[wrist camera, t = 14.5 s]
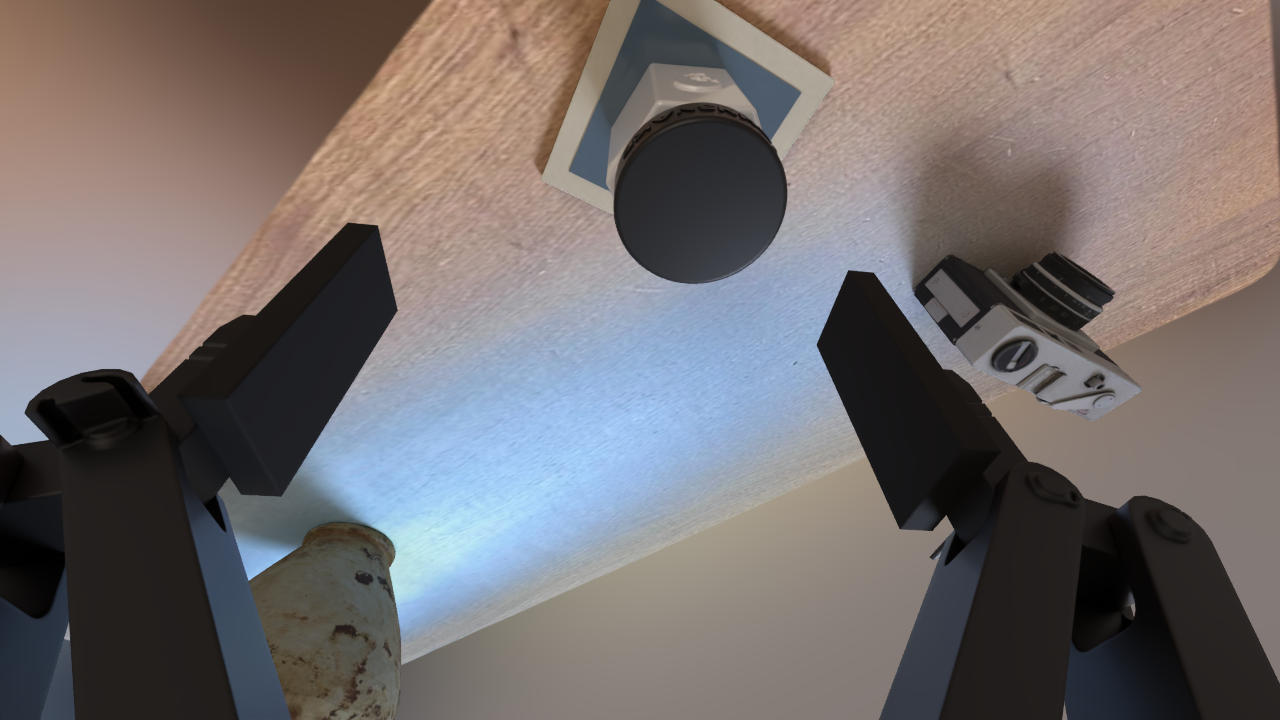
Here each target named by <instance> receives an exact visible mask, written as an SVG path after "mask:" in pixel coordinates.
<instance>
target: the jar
mask: <svg viewBox="0 0 1280 720" xmlns="http://www.w3.org/2000/svg"><path fill="white" fill-rule="evenodd" d="M771 144H772V142H771V141H770V139H769V138H768V136H767V135H766V134H765V132H764V131H763V130H762V128H761V124H760V121H759V118H758V115H757V111H756V109H755V108H754V106H753V105H752V104H751V102H750V101H749V100H748V98H747V97H746V96H745V94H744V93H743V92H742V90H741V89H740V88H739V86H738V85H737V84H736V82H735V81H734V80H733V78H732V77H731V76H730V74H729V73H728V72H727V70H725V69H719V68H707V67H694V66H682V65H670V64H658V63H652V64H650V65H649V67H648V68H647V70H646V72H645V73H644V75H643V77H642V78H641V80H640V82H639V83H638V85H637V87H636V88H635V90H634V92H633V93H632V95H631V96H630V98H629V100H628V101H627V103H626V105H625V106H624V108H623V110H622V111H621V113H620V115H619V116H618V118H617V120H616V121H615V123H614V124H613V126H612V128H611V133H610V144H609V154H608V165H607V175H606V184H607V187H608V188H609V190H610V192H611V194H612V196H613V198H614V202H613V210H614V219H615V224H616V228H617V231H618V234H619V236H620V239H621V241H622V243H623V244H624V246H625V248H626V249H627V251H628V252H629V254H630V255H631V256H632V257H633V258H634V259H635V260H636V261H637V262H638V263H639V264H640V265H641V266H642V267H644V268H645V269H646V270H648V271H650V272H651V273H653V274H655V275H657V276H659V277H661V278H664V279H667V280H670V281H674V282H679V283H687V284H699V283H708V282H713V281H717V280H721V279H724V278H727V277H729V276H731V275H734V274H736V273H737V272H739V271H741V270H743V269H744V268H746V267H747V266H749V265H750V264H751V263H753V262H754V261H755V260H756V259H757V258H758V257H760V255H761V254H762V253H763V252H764V251H765V250H766V249H767V248H768V246H769V245H770V244H771V242H772V241H773V239H774V238H775V236H776V234H777V232H778V230H779V228H780V226H781V224H782V221H783V218H784V215H785V210H786V204H787V181H786V176H785V172H784V168H783V166H782V163H781V161H780V158H779V156H778V154H777V153H778V152H777V150H776V148H775V147H774V146H773V145H771Z"/></svg>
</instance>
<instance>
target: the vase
mask: <svg viewBox="0 0 1280 720" xmlns="http://www.w3.org/2000/svg"><path fill="white" fill-rule="evenodd" d="M395 552H396V551H395V548H394V545H393V544H392V543H391V541H390V540H389V539H388V538H387V537H385V536H383V535H382V534H380V533H379V532H377V531H375V530H373V529H370V528H367V527H364V526H360V525H356V524H351V523H328V524H324V525H319V526H317V527H315V528H313V529H312V530H311V531H309V532H308V533H307V535H306V536H305V538H304V540H303V544H302V546H301V547H299V548H298V549H296V550H294V551H293V552H291V553H290V554H288V555H287V556H285V557H284V558H282V559H281V560H279V561H278V562H276V563H275V564H273V565H272V566H270V567H269V568H267V569H266V570H264V571H263V572H261V573H260V574H258V575H257V576H255V577H254V578H252V579H251V580H249V585H250V588H251V591H252V594H253V598H254V601H255V604H256V607H257V610H258V614H259V617H260V620H261V623H262V626H263V630H264V633H265V636H266V639H267V643H268V646H269V649H270V652H271V655H272V659H273V662H274V665H275V668H276V672H277V675H278V678H279V681H280V684H281V688H282V691H283V694H284V697H285V700H286V704H287V707H288V710H289V713H290V717H291V720H395V717H396V715H397V711H398V707H399V703H400V673H401V637H400V627H399V621H398V614H397V608H396V602H395V597H394V592H393V587H392V582H391V577H390V572H389V567H390V566H391V564H392V563H393V561H394V559H395Z"/></svg>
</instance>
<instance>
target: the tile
mask: <svg viewBox="0 0 1280 720" xmlns="http://www.w3.org/2000/svg"><path fill="white" fill-rule="evenodd" d="M652 63H658V64H670V65H682V66H694V67H707V68H719V69H725V70H727V72H728V73H729V74H730V76H731V77H732V78H733V80H734V81H735V82H736V84H737V85H738V86H739V88H740V89H741V90H742V92H743V93H744V94H745V96H746V97H747V98H748V100H749V101H750V102H751V104H752V105H753V106H754V108H755V109H756V111H757V115H758V118H759V121H760V124H761V128H762V130H763V131H764V132H765V134H766V135H767V136H768V138H769V139H770V141H771V142H772V144H771V145H773V146H774V147H775V148H776V150H777V152H778V153H777V154H778V156H779V158H780V161H782V160H783V158H784V157H785V155H786V154H787V152H788V151H789V149H790V148H791V146H792V145H793V143H794V142H795V140H796V139H797V137H798V136H799V134H800V133H801V131H802V130H803V129H804V127H805V126H806V124H807V123H808V121H809V120H810V118H811V117H812V115H813V114H814V112H815V111H816V109H817V108H818V106H819V105H820V103H821V102H822V100H823V99H824V97H825V96H826V94H827V93H828V91H829V90H830V89H831V87H832V86H833V84H834V83H835V81H836V80H835V79H834V78H832V77H831V76H829V75H828V74H826V73H824V72H823V71H821V70H820V69H818V68H817V67H815V66H814V65H812V64H811V63H809V62H808V61H806V60H805V59H803V58H802V57H800V56H799V55H797V54H796V53H794V52H793V51H791V50H790V49H788V48H787V47H785V46H784V45H782V44H781V43H779V42H778V41H776V40H774V39H773V38H771V37H770V36H768V35H767V34H765V33H764V32H762V31H761V30H759V29H758V28H756V27H755V26H753V25H752V24H750V23H749V22H747V21H746V20H744V19H743V18H741V17H740V16H738V15H737V14H735V13H734V12H732V11H731V10H729V9H727V8H726V7H724V6H723V5H721V4H720V3H718V2H717V1H715V0H610V3H609V5H608V8H607V10H606V13H605V15H604V18H603V21H602V23H601V26H600V28H599V31H598V33H597V36H596V39H595V41H594V44H593V46H592V49H591V51H590V54H589V56H588V59H587V62H586V64H585V67H584V69H583V72H582V74H581V77H580V80H579V82H578V85H577V87H576V90H575V92H574V95H573V98H572V100H571V103H570V105H569V108H568V110H567V113H566V116H565V118H564V121H563V123H562V126H561V128H560V131H559V134H558V136H557V139H556V141H555V144H554V146H553V149H552V151H551V154H550V157H549V159H548V162H547V164H546V167H545V169H544V172H543V175H542V177H541V181H543V182H545V183H547V184H549V185H551V186H553V187H555V188H557V189H560V190H562V191H564V192H566V193H568V194H570V195H572V196H574V197H576V198H579V199H581V200H583V201H585V202H587V203H589V204H591V205H593V206H595V207H598V208H600V209H602V210H604V211H606V212H608V213H610V214H612V215H614V210H613V202H614V198H613V196H612V194H611V192H610V190H609V188H608V187H607V184H606V175H607V165H608V154H609V144H610V133H611V128H612V126H613V124H614V123H615V121H616V120H617V118H618V116H619V115H620V113H621V111H622V110H623V108H624V106H625V105H626V103H627V101H628V100H629V98H630V96H631V95H632V93H633V92H634V90H635V88H636V87H637V85H638V83H639V82H640V80H641V78H642V77H643V75H644V73H645V72H646V70H647V68H648V67H649V65H650V64H652Z"/></svg>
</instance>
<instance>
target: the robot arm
mask: <svg viewBox="0 0 1280 720" xmlns="http://www.w3.org/2000/svg"><path fill="white" fill-rule="evenodd" d="M397 311H398V310H397V306H396V301H395V297H394V293H393V289H392V284H391V280H390V276H389V271H388V267H387V263H386V259H385V254H384V250H383V246H382V242H381V237H380V233H379V229H378V225H367V224H357V223H347V224H346V225H345V226H344V227H343V228H342V229H341V230H340V231H339V232H338V233H337V234H336V235H335V236H334V237H333V238H332V239H331V240H330V241H329V242H328V243H327V244H326V245H325V246H324V247H323V248H322V249H321V250H320V251H319V252H318V253H317V254H316V255H315V257H314V258H313V259H312V260H311V261H310V262H309V263H308V264H307V265H306V266H305V267H304V268H303V269H302V270H301V271H300V272H299V273H298V274H297V275H296V276H295V277H294V278H293V279H292V280H291V281H290V282H289V283H288V284H287V285H286V286H285V287H284V288H283V289H282V290H281V291H280V292H279V293H278V294H277V295H276V296H275V297H274V298H273V299H272V300H271V301H270V302H269V303H268V304H267V305H266V306H265V307H264V308H263V309H262V310H261V311H260V312H259V313H258V314H257V315H256V316H254V315H242V316H240V317H238V318H236V319H234V320H232V321H230V322H229V323H227V324H225V325H223V326H221V327H219V328H218V329H217V330H216V331H215V332H214V333H213V334H212V335H211V336H210V337H209V338H208V339H207V340H205V341H204V342H203V346H199V347H198V348H197V349H196V350H195V351H194V352H193V353H192V354H191V355H190V356H189V360H187V359H185V360H184V361H183V362H182V363H181V364H180V365H179V366H178V367H177V368H176V369H175V370H174V371H173V372H172V373H171V374H170V375H169V376H168V377H166V378H165V379H164V380H163V381H162V382H161V383H160V384H159V385H158V386H157V387H156V388H155V389H154V390H153V391H152V392H151V393H150V394H149V395H148V394H147V393H146V391H145V390H144V388H143V387H142V385H141V384H140V383H139V381H138V380H137V379H136V378H135V376H134V375H133V374H132V373H130V372H127V371H124V370H121V369H100V370H95V371H89V372H84V373H80V374H77V375H74V376H71V377H69V378H66V379H63V380H60V381H58V382H57V383H55V384H53V385H51V386H49V387H48V388H46V389H44V390H42V391H41V392H40V393H39V394H38V395H37V396H35V397H34V398H33V399H32V400H31V401H30V402H29V404H28V406H27V408H26V411H25V414H26V416H27V417H28V418H29V419H30V420H31V421H32V422H33V423H34V424H35V425H36V426H37V427H38V428H39V429H40V430H41V431H42V432H43V433H44V434H45V435H46V437H48V439H49V440H46V441H39V442H32V443H26V444H19V445H13V446H11V445H10V444H9V443H8V442H7V441H6V440H5V439H4V438H3V437H2V436H1V435H0V720H40V718H41V714H42V711H43V708H44V704H45V701H46V698H47V694H48V691H49V687H50V684H51V681H52V677H53V674H54V670H55V667H56V664H57V660H58V657H59V653H60V650H61V647H62V643H63V640H64V636H65V633H66V630H67V626H68V623H69V627H70V642H71V659H72V674H73V690H74V706H75V720H291V717H290V713H289V710H288V707H287V704H286V700H285V697H284V694H283V691H282V688H281V684H280V681H279V678H278V675H277V672H276V668H275V665H274V662H273V659H272V655H271V652H270V649H269V646H268V643H267V639H266V636H265V633H264V630H263V626H262V623H261V620H260V617H259V614H258V610H257V607H256V604H255V601H254V598H253V594H252V591H251V588H250V585H249V581H248V578H247V575H246V572H245V569H244V565H243V562H242V559H241V556H240V553H239V549H238V546H237V543H236V540H235V536H234V533H233V530H232V527H231V524H230V520H229V517H228V514H227V511H226V508H225V504H224V502H223V500H222V499H221V498H220V496H219V495H218V493H217V492H218V491H219V490H220V488H221V487H222V486H223V484H224V483H225V482H226V480H227V479H228V478H229V477H230V478H231V480H232V481H233V483H234V484H235V486H236V487H237V489H238V490H239V492H240V493H241V494H242V495H261V496H280V497H281V496H282V495H283V493H284V491H285V490H286V488H287V487H288V485H289V483H290V482H291V480H292V479H293V477H294V475H295V474H296V472H297V471H298V469H299V467H300V466H301V464H302V463H303V461H304V459H305V458H306V456H307V455H308V453H309V451H310V450H311V448H312V447H313V445H314V443H315V442H316V440H317V439H318V437H319V435H320V434H321V432H322V431H323V429H324V427H325V426H326V424H327V423H328V421H329V419H330V418H331V416H332V415H333V413H334V411H335V410H336V408H337V407H338V405H339V403H340V402H341V400H342V399H343V397H344V395H345V394H346V392H347V391H348V389H349V387H350V386H351V384H352V383H353V381H354V379H355V378H356V376H357V375H358V373H359V371H360V370H361V368H362V367H363V365H364V363H365V362H366V360H367V359H368V357H369V355H370V354H371V352H372V351H373V349H374V347H375V346H376V344H377V343H378V341H379V339H380V338H381V336H382V335H383V333H384V331H385V330H386V328H387V327H388V325H389V323H390V322H391V320H392V319H393V317H394V315H395V314H396V312H397ZM817 347H818V349H819V351H820V354H821V356H822V358H823V360H824V363H825V365H826V367H827V369H828V371H829V374H830V376H831V378H832V380H833V382H834V385H835V387H836V389H837V391H838V394H839V396H840V398H841V400H842V402H843V405H844V407H845V409H846V411H847V413H848V416H849V418H850V420H851V422H852V425H853V427H854V429H855V431H856V433H857V436H858V438H859V440H860V442H861V444H862V447H863V449H864V451H865V453H866V456H867V458H868V460H869V462H870V464H871V467H872V469H873V471H874V473H875V475H876V477H877V480H878V482H879V484H880V487H881V489H882V491H883V493H884V495H885V498H886V500H887V502H888V504H889V506H890V509H891V511H892V513H893V515H894V518H895V520H896V522H897V524H898V526H899V529H906V530H924V531H933V530H934V528H935V527H936V526H937V525H938V524H939V523H940V521H941V520H942V519H943V518H944V517H945V516H946V515H947V517H948V519H949V521H950V522H951V524H952V526H953V528H954V531H953V532H952V533H951V534H950V535H949V536H948V537H947V538H946V540H945V541H944V542H943V543H942V544H941V545H940V546H939V547H938V548H937V549H936V550H935V552H934V553H933V554H932V555H931V556H930V558H931V559H933V560H936V558H937V557H938V556H939V555H940V557H939V560H938V563H937V565H936V568H935V571H934V573H933V576H932V579H931V582H930V584H929V587H928V590H927V593H926V595H925V598H924V600H923V603H922V606H921V608H920V611H919V614H918V616H917V619H916V622H915V624H914V627H913V630H912V633H911V635H910V638H909V641H908V643H907V646H906V649H905V651H904V654H903V657H902V659H901V662H900V665H899V667H898V671H897V673H896V675H895V678H894V681H893V684H892V686H891V689H890V692H889V694H888V697H887V700H886V703H885V705H884V708H883V710H882V713H881V716H880V718H879V720H1062V716H1063V707H1064V701H1065V707H1066V713H1067V719H1068V720H1280V683H1279V681H1278V679H1277V677H1276V675H1275V673H1274V671H1273V669H1272V667H1271V664H1270V662H1269V660H1268V658H1267V656H1266V654H1265V652H1264V650H1263V648H1262V646H1261V644H1260V641H1259V639H1258V637H1257V635H1256V633H1255V631H1254V629H1253V627H1252V625H1251V623H1250V621H1249V619H1248V617H1247V614H1246V612H1245V610H1244V608H1243V606H1242V604H1241V602H1240V600H1239V598H1238V596H1237V593H1236V591H1235V589H1234V588H1233V585H1232V583H1231V581H1230V579H1229V577H1228V575H1227V573H1226V570H1225V568H1224V566H1223V564H1222V562H1221V560H1220V558H1219V556H1218V554H1217V552H1216V549H1215V547H1214V545H1213V543H1212V541H1211V540H1210V538H1209V537H1208V535H1207V534H1206V533H1205V531H1204V530H1203V529H1202V528H1201V527H1200V526H1199V525H1198V524H1197V523H1196V522H1195V521H1194V520H1192V518H1191V517H1190V516H1188V515H1187V514H1186V513H1184V512H1182V511H1181V510H1180V509H1178V508H1176V507H1174V506H1172V505H1170V504H1168V503H1165V502H1163V501H1161V500H1159V499H1155V498H1152V497H1148V496H1134V497H1133V498H1131V499H1130V500H1129V501H1128V502H1126V503H1125V504H1124V505H1123V506H1121V507H1120V508H1119V509H1117V508H1114V507H1111V506H1107V505H1104V504H1101V503H1098V502H1095V501H1092V500H1088V499H1085V498H1084V497H1083V496H1082V494H1081V493H1080V492H1079V490H1078V489H1077V487H1076V486H1075V485H1073V484H1072V483H1071V482H1070V481H1069V480H1068V479H1067V478H1066V477H1064V476H1063V475H1061V474H1059V473H1058V472H1056V471H1054V470H1053V469H1051V468H1049V467H1046V466H1044V465H1041V464H1039V463H1034V462H1028V461H1027V459H1026V458H1025V457H1024V455H1023V454H1022V453H1021V451H1020V450H1019V449H1018V447H1017V446H1016V445H1015V443H1014V442H1013V441H1012V439H1011V438H1010V437H1009V435H1008V434H1007V433H1006V432H1005V430H1004V429H1003V427H1002V426H1001V425H1000V423H999V422H998V421H997V419H996V418H995V417H992V413H991V412H990V410H989V409H988V408H987V407H986V405H985V404H983V403H982V400H981V398H980V397H979V396H978V394H977V393H976V392H975V390H974V389H973V388H972V386H971V385H970V384H969V383H968V382H966V381H965V380H964V379H963V378H961V377H960V376H959V375H958V374H956V373H955V372H954V371H953V370H946V369H942V367H941V366H940V364H939V363H938V362H937V360H936V359H935V357H934V356H933V355H932V353H931V352H930V350H929V349H928V348H927V346H926V345H925V343H924V342H923V341H922V339H921V338H920V337H919V335H918V334H917V332H916V331H915V330H914V328H913V327H912V325H911V324H910V323H909V321H908V320H907V318H906V317H905V316H904V314H903V313H902V311H901V310H900V309H899V307H898V306H897V304H896V303H895V302H894V300H893V299H892V298H891V296H890V295H889V293H888V292H887V291H886V289H885V288H884V286H883V285H882V284H881V282H880V281H879V279H878V278H877V277H876V275H875V274H874V273H871V272H861V271H850V270H848V272H847V275H846V277H845V279H844V282H843V284H842V286H841V289H840V291H839V293H838V296H837V298H836V301H835V303H834V305H833V308H832V310H831V312H830V315H829V317H828V319H827V322H826V324H825V326H824V329H823V331H822V333H821V336H820V338H819V340H818V343H817ZM1134 603H1135V609H1136V610H1135V616H1133V612H1132V609H1131V606H1130V605H1132V604H1134Z"/></svg>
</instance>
